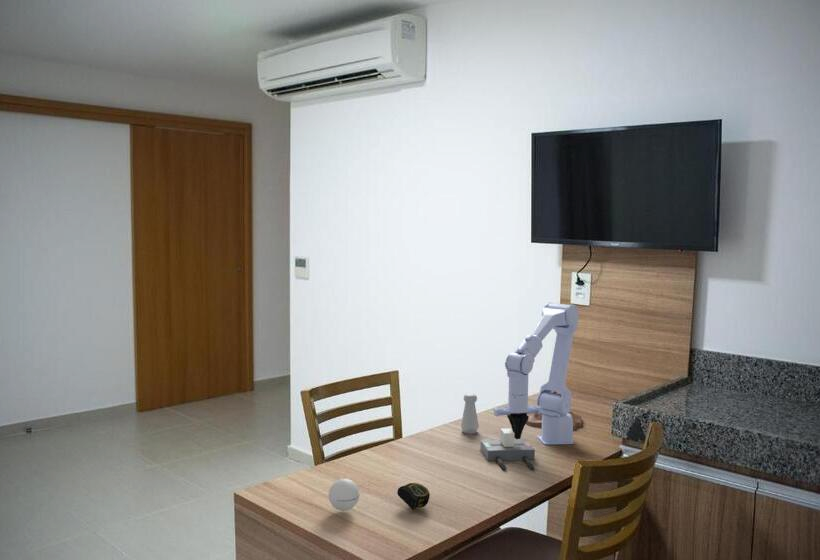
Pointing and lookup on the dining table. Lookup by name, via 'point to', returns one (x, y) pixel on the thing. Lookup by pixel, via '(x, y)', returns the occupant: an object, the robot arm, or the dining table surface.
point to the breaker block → (507, 450)
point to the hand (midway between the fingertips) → (517, 438)
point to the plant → (536, 419)
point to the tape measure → (414, 495)
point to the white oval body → (344, 494)
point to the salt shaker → (470, 415)
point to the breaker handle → (507, 437)
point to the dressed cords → (523, 459)
